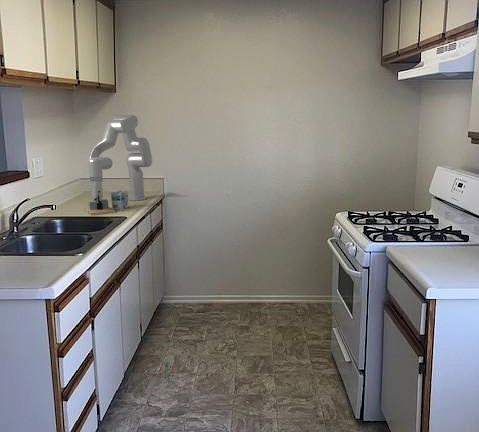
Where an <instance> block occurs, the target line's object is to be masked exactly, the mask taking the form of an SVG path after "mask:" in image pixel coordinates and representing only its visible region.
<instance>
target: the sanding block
mask: <svg viewBox="0 0 479 432" xmlns="http://www.w3.org/2000/svg"><path fill="white" fill-rule="evenodd" d="M87 204H88V205H87V207H89V210H97V200H94V199H93V200H87ZM102 206H103V209H109V208H110V206H109V200H108V199H106V198H105V199H102Z"/></svg>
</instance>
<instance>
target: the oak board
mask: <svg viewBox="0 0 479 432" xmlns="http://www.w3.org/2000/svg"><path fill="white" fill-rule="evenodd" d="M82 210H83V211H84V212H86V213H87V214H88V215H90V216H95V215H96V216H97V215H98V216H99V215H105V214H106V215H107V214H115V212H116V210H113V209H112V207H109V209H101V210H89V207H88V206H84V207H83V206H82Z"/></svg>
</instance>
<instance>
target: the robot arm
mask: <svg viewBox="0 0 479 432" xmlns="http://www.w3.org/2000/svg"><path fill="white" fill-rule="evenodd" d="M138 125H139V118H138V117H137V116H136V115H134V114H119V115H114V116H113V117H112V118H111V119H110V120H108V121H107V122H106V124H105V127H104V131H103V135H102V137H101V140H100V141H99V143H97V144H96V145H95V146H94V147H93V149H92V150H91V152H90V155H89V159H88V170H89V171H88V172H89V182H90V190H91V191H90V194H91V195H90V196H91V198H93V200H97V210H101V209H103V206H102V200H103V197H104V193H103V185H102V182H103V181H104V179H103V178H104V177H103V171H105V170H109V169H111V168H113V163H114V162H113V160H112V159H111V157H107V156H106V157H105V156H101V155H102V154H103V153H104V152H105V151H108V150H110V149H112V148H114V147H115V146H116V143H117V138H118V136H119V134H122V136H123V137H122V138H123V141H124V146H125V150H126V151H127V152H131V153H129V154H127V156H126V159H125V161H126V164H127V168H128V182H129V183H128V184H129V194H130V195H129V196H128V201H134V202H135V201H145V200H147V199H148V198H147V196H145V186H144V185H145V183H144V173H143V170H142V169H141V168H149V167H151V166H152V164H153V157H152V151H151V147H150V143H149V140H148V139H147V138H146V137H139V136H137V132H136V130H135V129H136V128H137V127H138Z"/></svg>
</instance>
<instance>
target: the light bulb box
mask: <svg viewBox="0 0 479 432" xmlns="http://www.w3.org/2000/svg"><path fill="white" fill-rule="evenodd" d="M128 194H129V193H128V190H118V189H117V190H115V191H112V192H110V198H111V209H113V210H115V211H116V210H117V211H123V210H126V209H127V208H129V200H128V198H129V195H128Z"/></svg>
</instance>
